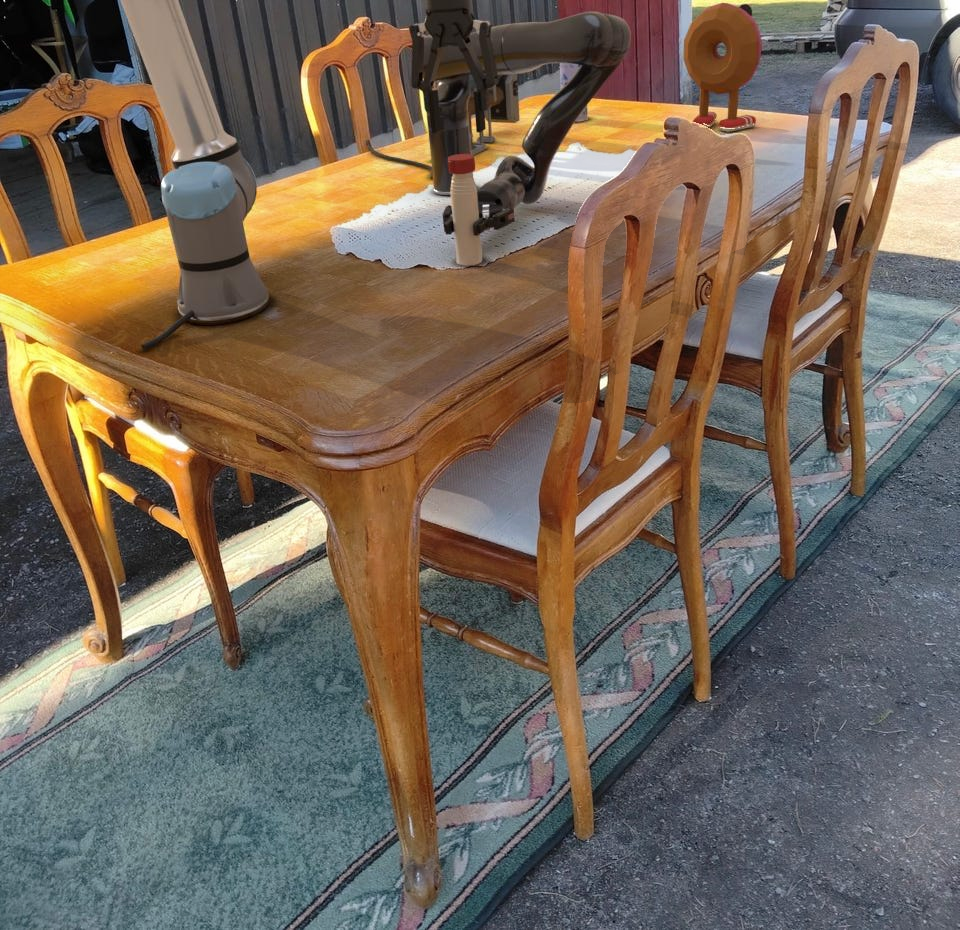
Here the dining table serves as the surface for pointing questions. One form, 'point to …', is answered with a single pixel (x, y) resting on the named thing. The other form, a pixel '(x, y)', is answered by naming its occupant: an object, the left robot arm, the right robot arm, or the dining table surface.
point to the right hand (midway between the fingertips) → (461, 229)
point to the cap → (461, 164)
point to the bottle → (465, 219)
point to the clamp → (496, 107)
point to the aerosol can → (565, 75)
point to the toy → (723, 59)
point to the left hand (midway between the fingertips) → (458, 130)
